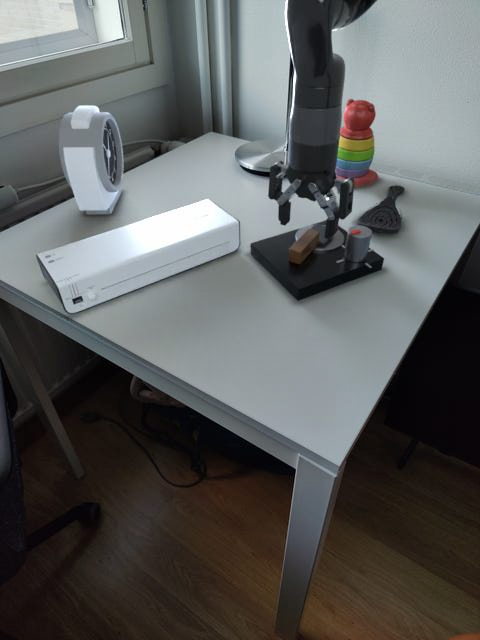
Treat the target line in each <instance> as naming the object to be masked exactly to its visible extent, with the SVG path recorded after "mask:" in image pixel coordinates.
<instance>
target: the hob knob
mask: <svg viewBox="0 0 480 640" xmlns="http://www.w3.org/2000/svg"><path fill="white" fill-rule="evenodd" d="M347 232H348V233H347V239H346V246H345V252H344V257H345V258H346V259H347V260H349V261H351V262H363V261H365V260H366V259H367V255H368V250H369V248H370V245H371V239H372V236H373V235H372V234H373V231H372V230H370V229H369V228H367V227H365V226H358V225H352V226H350V227H348V229H347Z"/></svg>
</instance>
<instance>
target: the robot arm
mask: <svg viewBox="0 0 480 640" xmlns="http://www.w3.org/2000/svg"><path fill="white" fill-rule="evenodd" d="M377 1H378V0H285V6H284V7H285V9H284V19H285V26H286V32H287V39H288V45H289V52H290V57H291V61H292V65H293V82H292V102H291V103H292V104H291V109H290V116H289V125H288V146H287V147H288V149H287V164H288V165H287V164H286V165H285V163H284V161H282V160H279V161H277V162H275V163H273V164H272V165H271V166H270V168H269V180H268V192H267V193H268V194H267V197H268V199H270V200H274V201H275V202H276V203H277V205H278V214H277V218H278V221H279V222H280V223H279V224H280V225H281V226H285V227H286V225H287V224H288V223H290V222H291V212H292V211H291V210H292V209H291V208H292V201H290V200H291V199H292V198H293V197H294V196H295V195H297V197H298V198H300V199H307V200H309V201H310V202H311V201H312V202H317V204H318V206H319V207H320V209H321V210H323V211H324V213H325V215H326V217H327V218H326V219H325V220H326V229H325V238H326V239H330V238H331V237H333V236H334V235H335V234H336V232H337V230H338V226H339V222H340V220H342V221H344V220H345V219H346V218H347V217H348V216H349V215H351V213H352V212H353V205H354V192H355V187H354V179H353V178H351V177H350V178H348V179H347V180H345V179H339V178H337V177H336V173H335V169H336V164H337V156H338V148H339V139H340V131H341V128H342V119H343V96H344V87H345V81H346V80H345V79H346V61H345V59H344V57H342V56H341V55H340V54H338V53H335V52H334V51H333V38H332V36H333V35H332V34H333V32H337V31H341V30H343V29H345V28H347V27H349V26H351V25H352V24H353V23H355V22H356V21H357V20H359V19H360V18H361V17H362V16H364V15H365V14H366V13H367V12H368V11H369V10H370V9H371V8H372V7H373V6H374V5H375V3H376V2H377ZM285 176H286V178H287V180H288V182H289V186H288V187H287V188H286V189H285V190H284V191H283V190H282V189H283V180H284V177H285ZM334 187H335V188H336V190H337V195H339V200H338V201H339V203H338V201H337V196H336V194H335V192H334V190H333V188H334ZM325 196H326V197H325Z"/></svg>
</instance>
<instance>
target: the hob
mask: <svg viewBox="0 0 480 640" xmlns="http://www.w3.org/2000/svg"><path fill="white" fill-rule="evenodd" d="M326 220H327V219H325V220H323V221H319V222H316V223H317V224H320V225H326ZM314 224H315V223H311V225H314ZM303 227H304V226H303ZM303 227H299V228H296V229H292V230H290V231H286V232H284V233H280V234H277V235H273V236H270V237H267V238H263V239H261V240H257V241H253V242H251V243H250V255H251V256H252V258H254V259H255V260H256V261H257V262H258V264H260V265H261V267H263V268H264V269H265V270H266V271H267V273H269V274H270V276H272V277H273V278H274V280H276V281H277V282H278V283H279V284H280V285H281V287H283V288H284V289H285V290H286V291H287V292H288V293H289V294H290V295H291V296H292V297H293V298H294V299H295V300H296V301H297V302H299V301H301V300H304V299H307V298H310V297H313V296H315V295H318V294H321V293H324V292H326V291H329V290H332V289H334V288H337V287H339V286H343V285H345V284H348V283H350V282H353V281H356V280H358V279H362V278H364V277H367V276H369V275H372V274H374V273H377V272H379V271H382V270H383V266H384V261H385V258H384V257H383V256H382V255H380V254H379V253H378V252H376V251H375V249H374V248H371V247H369V250H368V255H367V259H366V260H365V261H363V262H351V261H349V260H347V259H346V258H345V257H344V252H345V246H346V239H347V233H348V230H347V231H346V230H345V229H344V228H343V227H341V226H340V225H338V230H339V231H340V232H341V233H342V234H343V235H344V243H343V244H342V245H341V247H339V248H337V249H335V250H332V251H326V252H318V251H312V252H311V253H310V254H309V255H308V256H307V257H306V258H305V259H304V261H303V262H302V263H301V264H297V263H294V262H291V261H289V249H290V247H291V246H292V245H293V244H294V243H295V242H296V233H297V231H298V230H299V229H301V228H303Z"/></svg>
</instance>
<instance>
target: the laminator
mask: <svg viewBox="0 0 480 640" xmlns="http://www.w3.org/2000/svg"><path fill="white" fill-rule="evenodd" d="M240 246H241V221H240V220H239V219H238V218H236V217H235V216H233V215H232V214H231V213H229V212H228V211H227V210H225V209H224V208H223V207H221V206H220V205H218V204H217V203H215V202H214V201H213V200H211V199H210V198H207V199H204V200H200V201H199V202H194V203H192V204H188V205H186V206H183V207H179V208H177V209H173V210H170V211H167V212H164V213H161V214H158V215H153V216H152V217H148V218H145V219H142V220H139V221H136V222H133V223H129V224H127V225H124V226H120V227H116V228H114V229H112V230H107V231H105V232H102V233H99V234H96V235H93V236H90V237H87V238H82V239H80V240H77V241H74V242H71V243H68V244H64V245H61V246H59V247H55V248H52V249H49V250H46V251H43V252H40V253H37V254H35V258H36V260H37V263H38V266H39V268H40V272H41V274H42V276H43V278H44V279H45V280H46V281H47V283H48V285H49V286H50V288H51V289H52V291H53V294H55V296H56V297H57V299H58V301H59V302H60V304H61V306H62V308H63V310H64V312H65V313H66V314H69V315H76V314H79V313H82V312H84V311H87V310H90V309H93V308H94V307H97V306H99V305H102V304H105V303H107V302H110V301H112V300H115V299H118V298H120V297H123V296H125V295H128V294H130V293H133V292H135V291H139V290H141V289H143V288H146V287H149V286H151V285H154V284H156V283H158V282H161V281H164V280H167V279H169V278H171V277H174V276H177V275H180V274H181V273H185V272H187V271H190V270H192V269H194V268H198V267H200V266H202V265H205V264H209V263H210V262H213V261H215V260H218V259H220V258H223V257H225V256H229V255H231V254H233V253H235V252H236V251H238V250H239V248H240Z"/></svg>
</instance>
